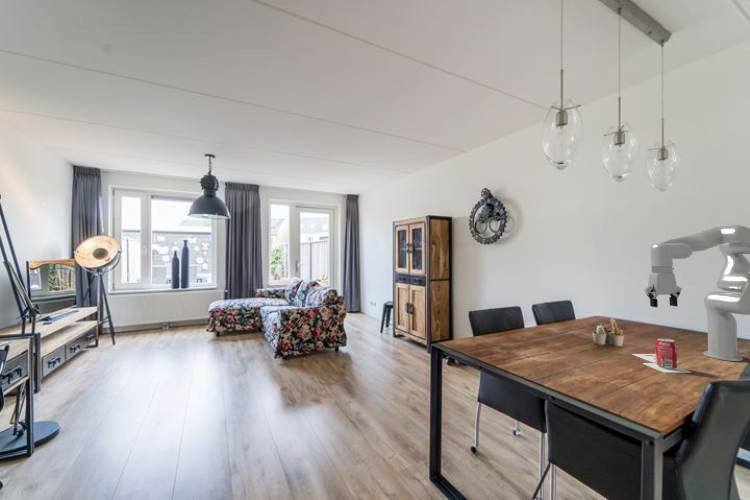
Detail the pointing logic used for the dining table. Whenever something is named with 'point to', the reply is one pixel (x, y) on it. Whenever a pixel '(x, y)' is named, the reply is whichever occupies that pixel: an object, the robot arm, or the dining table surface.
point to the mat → (676, 370)
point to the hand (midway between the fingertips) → (663, 306)
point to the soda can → (666, 353)
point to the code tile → (648, 357)
